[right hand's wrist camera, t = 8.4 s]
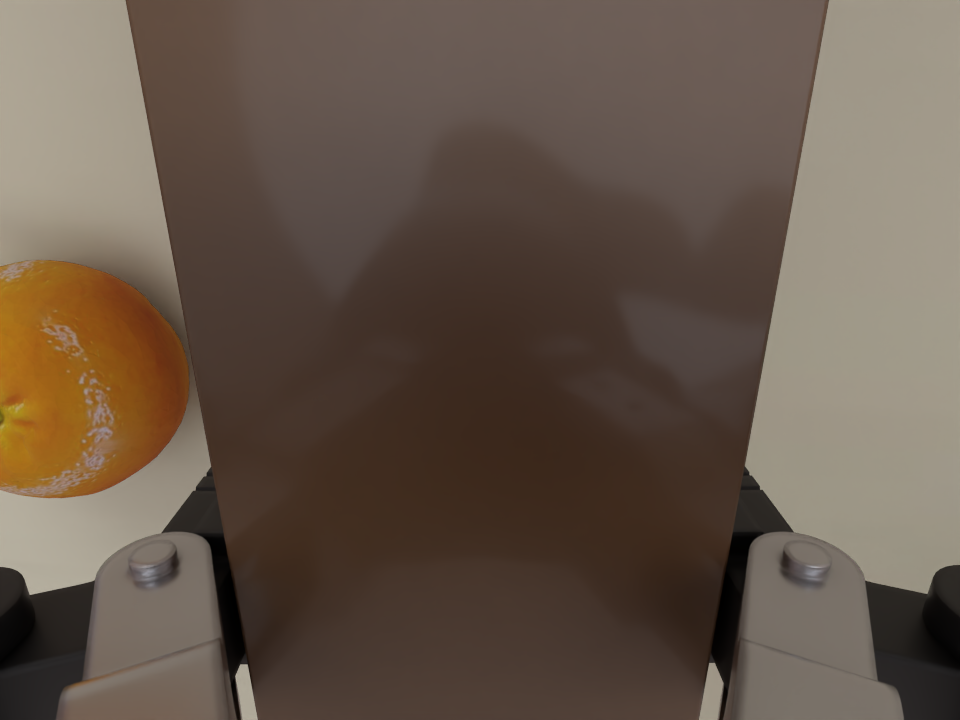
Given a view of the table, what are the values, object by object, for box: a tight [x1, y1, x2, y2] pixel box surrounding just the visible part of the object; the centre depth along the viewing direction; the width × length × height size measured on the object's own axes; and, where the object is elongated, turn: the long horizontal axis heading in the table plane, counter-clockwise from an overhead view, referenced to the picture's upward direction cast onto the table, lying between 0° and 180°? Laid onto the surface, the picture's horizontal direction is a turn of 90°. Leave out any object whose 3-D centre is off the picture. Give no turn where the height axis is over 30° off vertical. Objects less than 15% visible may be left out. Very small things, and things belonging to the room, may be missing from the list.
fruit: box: [0, 260, 189, 498], centre depth 23 cm, size 8×8×8 cm
